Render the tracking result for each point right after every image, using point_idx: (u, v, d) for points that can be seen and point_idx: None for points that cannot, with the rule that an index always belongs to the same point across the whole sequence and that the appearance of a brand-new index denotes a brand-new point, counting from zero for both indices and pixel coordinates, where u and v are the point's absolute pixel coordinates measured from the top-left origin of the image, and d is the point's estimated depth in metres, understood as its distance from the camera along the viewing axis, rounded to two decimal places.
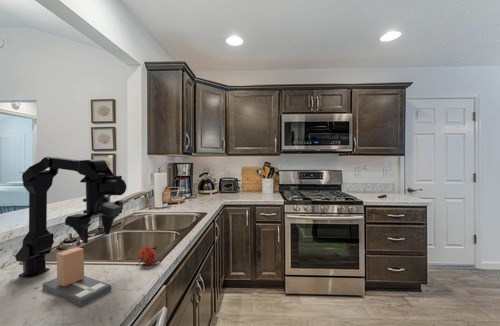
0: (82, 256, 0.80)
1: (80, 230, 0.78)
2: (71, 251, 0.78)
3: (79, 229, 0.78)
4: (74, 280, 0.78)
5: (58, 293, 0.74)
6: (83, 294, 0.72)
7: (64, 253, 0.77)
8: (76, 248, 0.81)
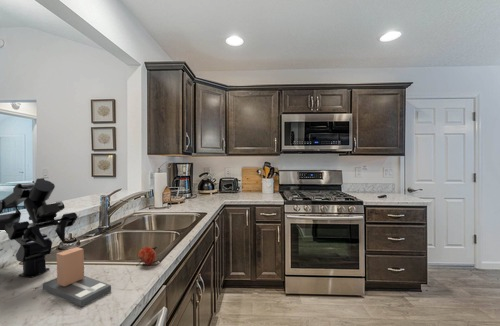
0: (82, 256, 0.80)
1: (35, 237, 0.81)
2: (71, 251, 0.78)
3: (34, 237, 0.81)
4: (74, 280, 0.78)
5: (58, 293, 0.74)
6: (83, 294, 0.72)
7: (64, 253, 0.77)
8: (76, 248, 0.81)
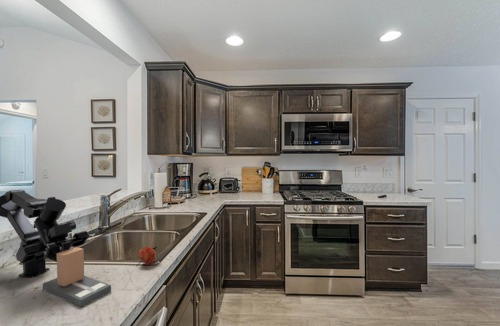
0: (82, 256, 0.80)
1: (55, 257, 0.80)
2: (71, 251, 0.78)
3: (54, 256, 0.80)
4: (74, 280, 0.78)
5: (58, 293, 0.74)
6: (83, 294, 0.72)
7: (64, 253, 0.77)
8: (76, 248, 0.81)
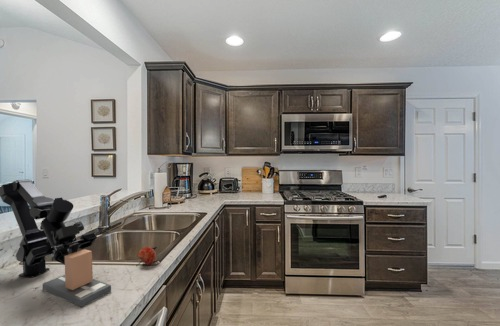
0: (90, 258, 0.78)
1: (63, 259, 0.78)
2: (79, 253, 0.76)
3: (62, 259, 0.78)
4: (82, 283, 0.76)
5: (58, 293, 0.74)
6: (83, 294, 0.72)
7: (72, 255, 0.75)
8: (84, 250, 0.79)
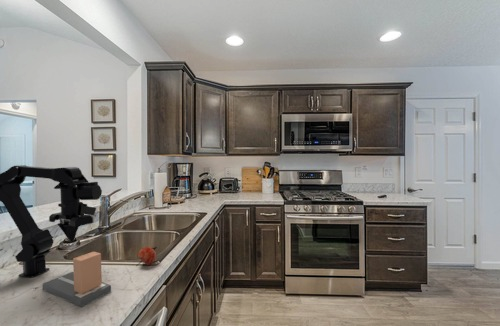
0: (99, 261, 0.76)
1: (71, 229, 0.88)
2: (88, 256, 0.74)
3: (70, 229, 0.88)
4: (92, 287, 0.74)
5: (58, 293, 0.74)
6: (83, 294, 0.72)
7: (81, 258, 0.73)
8: (93, 252, 0.77)
